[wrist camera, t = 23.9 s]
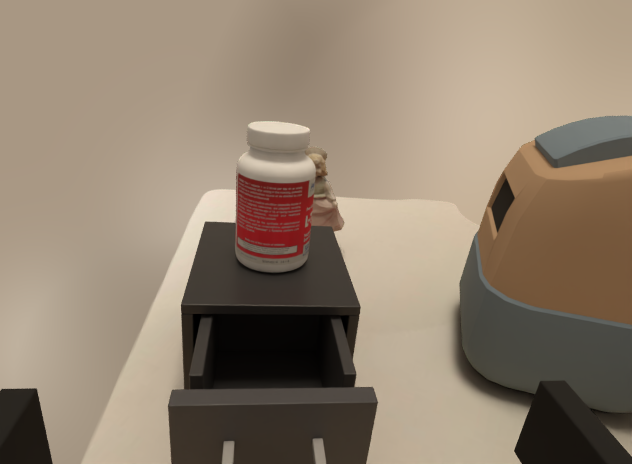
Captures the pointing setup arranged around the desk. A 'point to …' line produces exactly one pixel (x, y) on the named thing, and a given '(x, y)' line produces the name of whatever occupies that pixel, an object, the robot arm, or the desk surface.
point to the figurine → (323, 194)
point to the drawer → (271, 394)
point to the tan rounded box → (557, 267)
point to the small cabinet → (265, 286)
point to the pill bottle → (274, 198)
